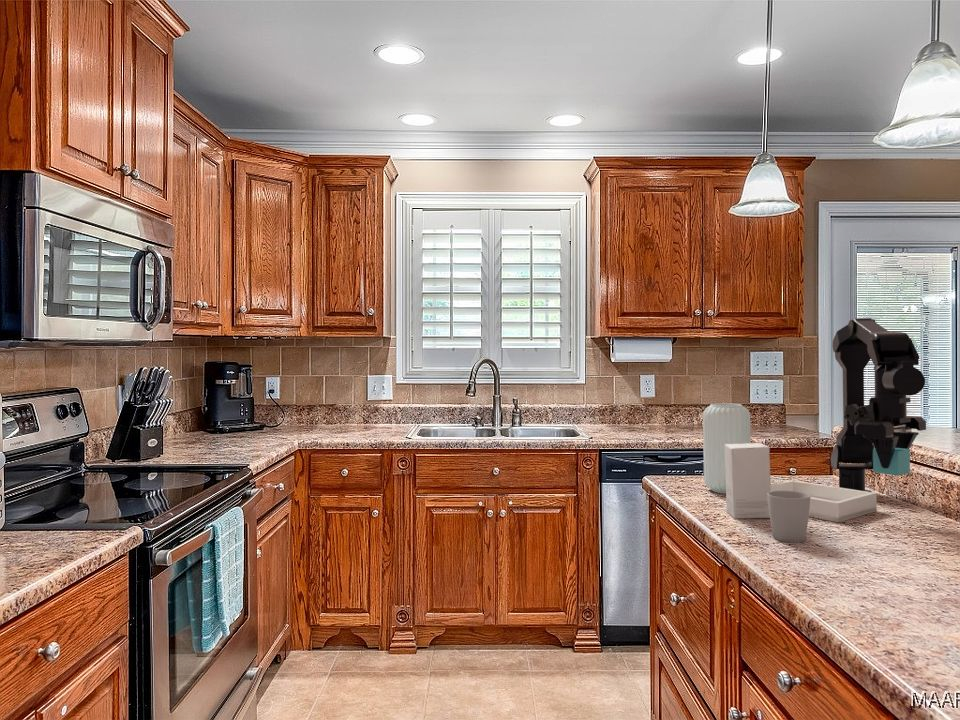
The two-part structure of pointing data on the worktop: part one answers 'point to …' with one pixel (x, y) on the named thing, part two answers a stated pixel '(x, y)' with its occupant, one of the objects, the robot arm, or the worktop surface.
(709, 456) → the vase
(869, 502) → the grey tray
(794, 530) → the cup
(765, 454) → the skincare box
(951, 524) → the worktop surface
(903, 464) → the teal block
